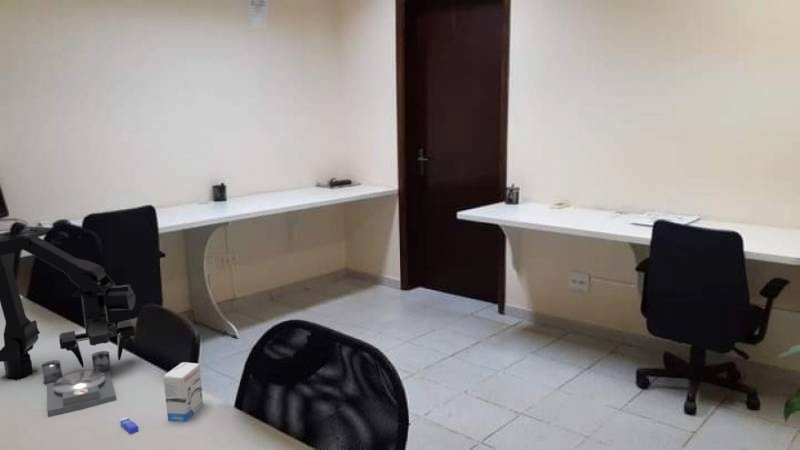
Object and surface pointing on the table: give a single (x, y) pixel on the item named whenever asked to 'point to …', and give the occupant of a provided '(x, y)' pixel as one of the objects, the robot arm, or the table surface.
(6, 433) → the table surface
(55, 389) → the scale pan
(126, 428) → the eraser
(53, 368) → the cylinder
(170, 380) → the ink box
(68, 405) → the scale
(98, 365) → the cylinder
